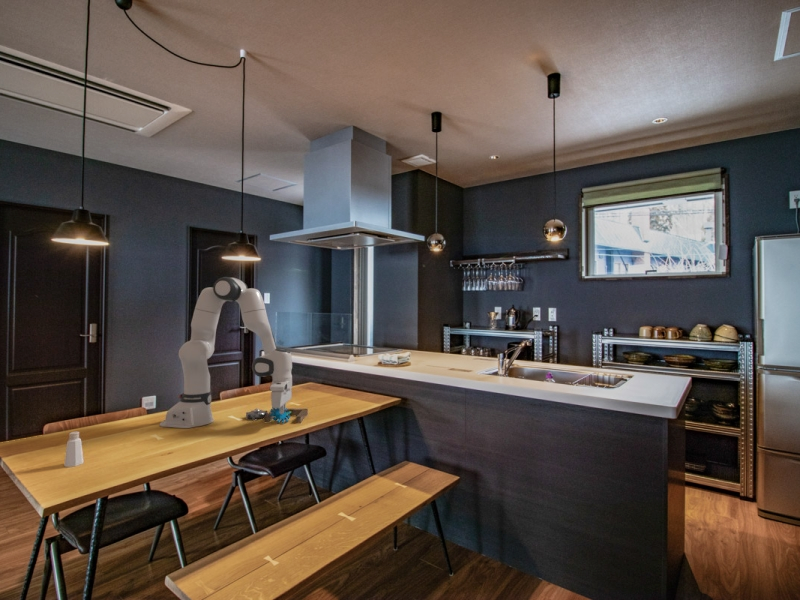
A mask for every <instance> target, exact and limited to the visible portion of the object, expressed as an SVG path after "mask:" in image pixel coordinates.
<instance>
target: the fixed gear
mask: <svg viewBox="0 0 800 600" xmlns="http://www.w3.org/2000/svg"><path fill="white" fill-rule="evenodd" d="M268 413H269V412H268V410H263V409H260V408H255V409H254V410H251V411H247V412H246V413H245V420H246V419H252V420H255V419H263V418H264V416H266V415H267V414H268ZM252 420H251V421H252ZM263 420H264V419H263ZM255 421H256V420H255Z"/></svg>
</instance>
